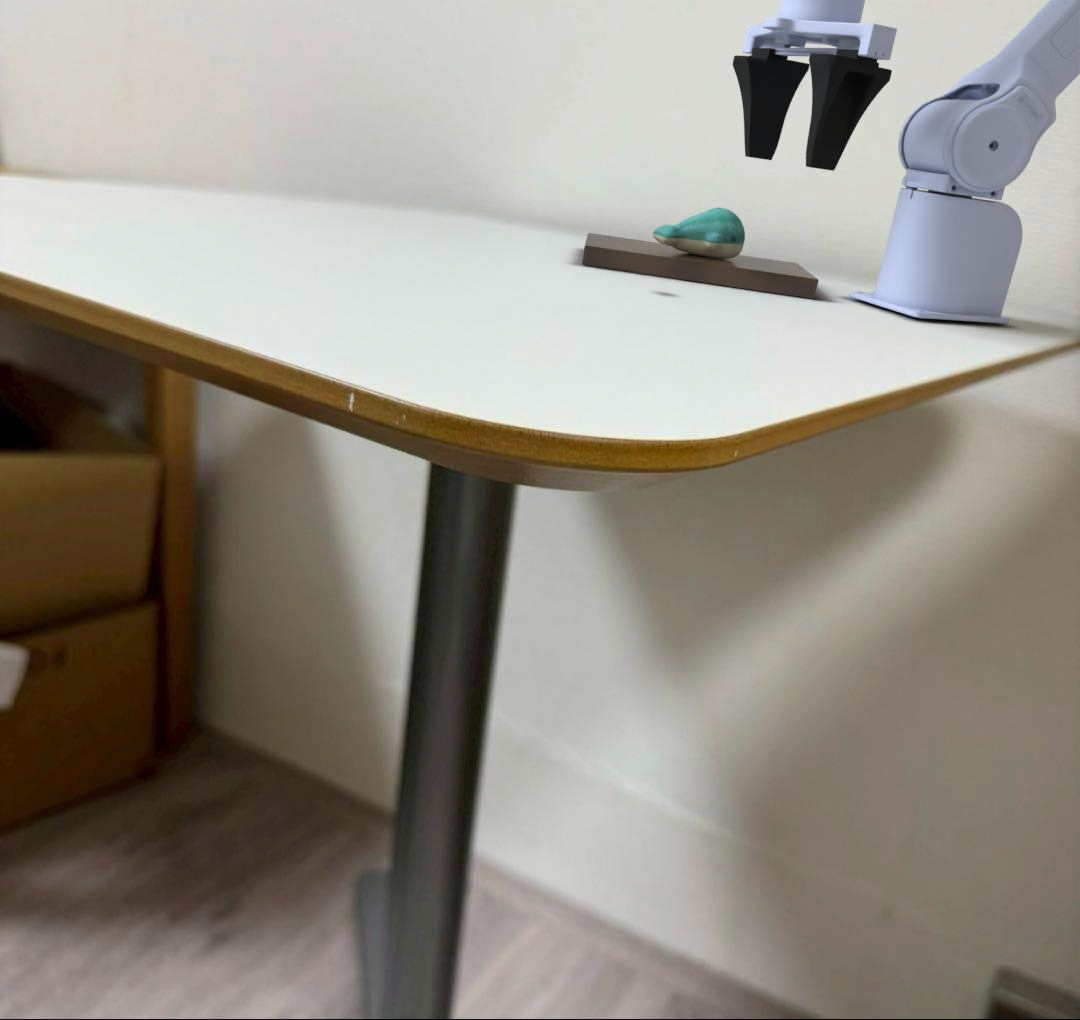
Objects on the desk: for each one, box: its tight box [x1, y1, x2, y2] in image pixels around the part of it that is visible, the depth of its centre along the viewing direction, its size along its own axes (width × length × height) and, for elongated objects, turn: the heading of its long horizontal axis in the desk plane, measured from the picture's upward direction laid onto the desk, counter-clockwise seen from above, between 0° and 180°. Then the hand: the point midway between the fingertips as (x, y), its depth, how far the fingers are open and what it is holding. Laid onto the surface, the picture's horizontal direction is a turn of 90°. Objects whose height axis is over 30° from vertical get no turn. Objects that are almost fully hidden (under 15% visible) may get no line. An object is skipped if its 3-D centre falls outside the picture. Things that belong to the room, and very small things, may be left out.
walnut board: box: [581, 232, 819, 300], centre depth 85 cm, size 18×10×2 cm, turn 86°
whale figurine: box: [652, 207, 746, 259], centre depth 84 cm, size 6×7×4 cm
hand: (787, 163), depth 77 cm, fingers open, 7 cm apart
